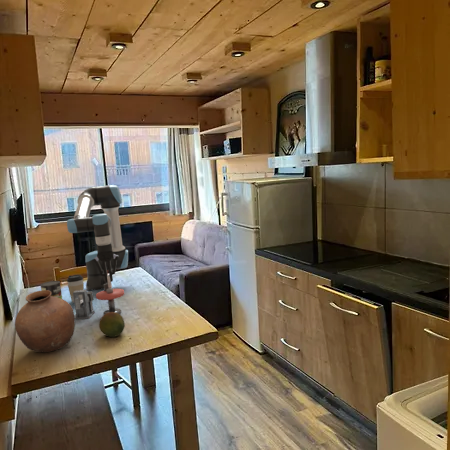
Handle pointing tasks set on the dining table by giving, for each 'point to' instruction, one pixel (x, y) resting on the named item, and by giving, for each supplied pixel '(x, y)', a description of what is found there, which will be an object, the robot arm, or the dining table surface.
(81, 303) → the hook rod
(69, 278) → the coffee cup
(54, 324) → the pottery
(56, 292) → the coffee can
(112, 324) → the fruit
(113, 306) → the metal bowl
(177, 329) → the dining table surface
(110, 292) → the pot lid
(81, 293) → the grey block assembly
